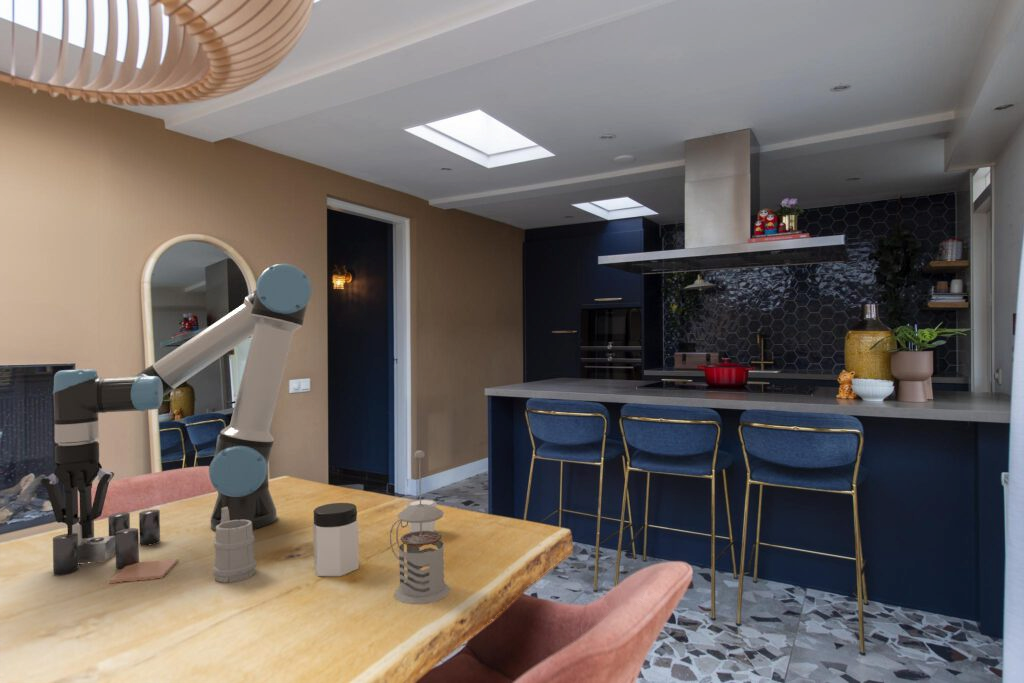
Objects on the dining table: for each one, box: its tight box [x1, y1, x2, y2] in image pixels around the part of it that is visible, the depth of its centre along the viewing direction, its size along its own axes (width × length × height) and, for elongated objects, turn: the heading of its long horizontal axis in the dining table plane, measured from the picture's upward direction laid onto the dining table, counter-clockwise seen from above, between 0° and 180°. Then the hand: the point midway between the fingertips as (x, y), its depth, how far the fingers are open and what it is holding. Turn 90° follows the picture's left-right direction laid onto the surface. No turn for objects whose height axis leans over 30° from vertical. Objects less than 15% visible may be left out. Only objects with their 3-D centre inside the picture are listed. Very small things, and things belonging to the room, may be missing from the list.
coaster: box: [109, 558, 179, 584], centre depth 116 cm, size 9×9×1 cm
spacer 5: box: [138, 509, 161, 546], centre depth 135 cm, size 4×4×7 cm
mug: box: [212, 507, 257, 583], centre depth 115 cm, size 8×12×12 cm, turn 42°
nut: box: [78, 535, 115, 564], centre depth 125 cm, size 5×5×4 cm
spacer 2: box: [77, 516, 95, 539], centre depth 131 cm, size 4×4×7 cm
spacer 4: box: [114, 527, 140, 570], centre depth 120 cm, size 4×4×7 cm
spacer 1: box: [52, 533, 79, 576], centre depth 118 cm, size 4×4×7 cm
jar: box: [312, 502, 360, 577], centre depth 116 cm, size 9×8×12 cm
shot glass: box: [406, 499, 437, 533], centre depth 137 cm, size 7×7×7 cm
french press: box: [389, 449, 451, 605], centre depth 105 cm, size 10×12×25 cm
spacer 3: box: [107, 511, 131, 536], centre depth 133 cm, size 4×4×7 cm
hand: (80, 553), depth 125 cm, fingers closed
